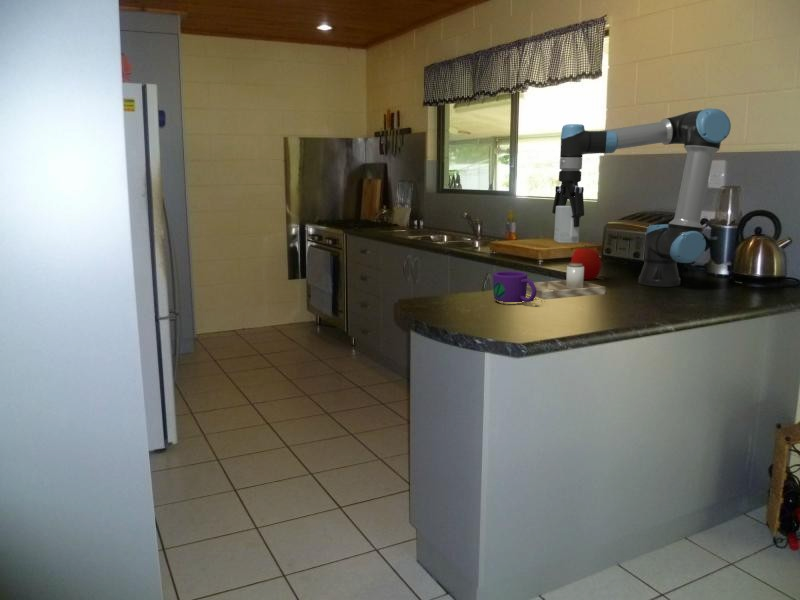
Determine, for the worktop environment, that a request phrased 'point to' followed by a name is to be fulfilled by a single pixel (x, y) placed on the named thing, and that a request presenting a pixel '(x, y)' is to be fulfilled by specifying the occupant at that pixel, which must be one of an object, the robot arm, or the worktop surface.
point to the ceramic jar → (575, 275)
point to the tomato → (588, 262)
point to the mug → (512, 286)
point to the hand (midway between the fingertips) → (566, 235)
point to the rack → (563, 290)
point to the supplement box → (564, 225)
